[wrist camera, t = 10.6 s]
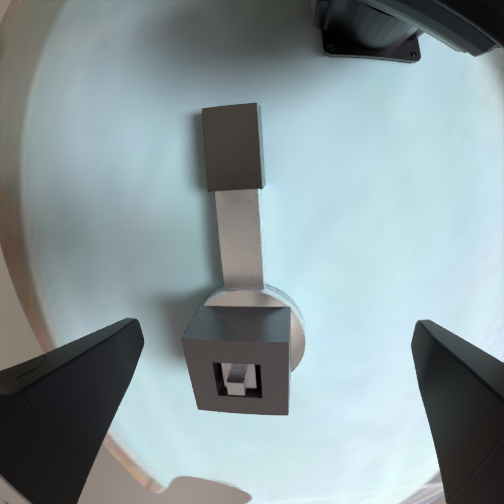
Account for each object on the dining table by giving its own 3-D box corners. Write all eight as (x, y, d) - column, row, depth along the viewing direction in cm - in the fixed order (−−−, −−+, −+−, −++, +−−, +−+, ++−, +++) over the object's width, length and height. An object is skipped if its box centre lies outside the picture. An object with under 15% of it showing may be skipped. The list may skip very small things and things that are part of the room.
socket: (290, 306, 20) (288, 342, 16) (290, 376, 22) (288, 415, 18) (200, 305, 21) (181, 338, 17) (211, 373, 22) (198, 409, 19)
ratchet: (299, 105, 17) (301, 83, 11) (303, 370, 23) (303, 432, 17) (174, 117, 18) (124, 107, 12) (206, 367, 25) (184, 423, 18)
